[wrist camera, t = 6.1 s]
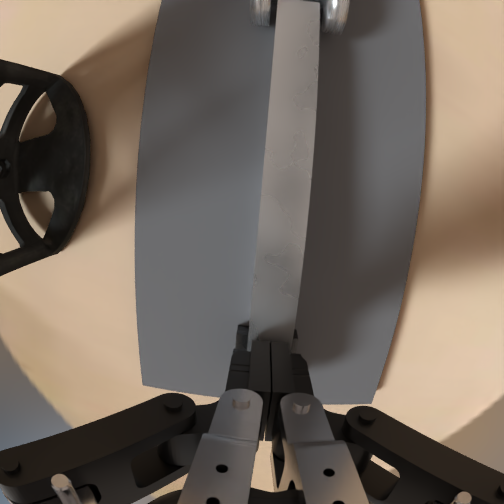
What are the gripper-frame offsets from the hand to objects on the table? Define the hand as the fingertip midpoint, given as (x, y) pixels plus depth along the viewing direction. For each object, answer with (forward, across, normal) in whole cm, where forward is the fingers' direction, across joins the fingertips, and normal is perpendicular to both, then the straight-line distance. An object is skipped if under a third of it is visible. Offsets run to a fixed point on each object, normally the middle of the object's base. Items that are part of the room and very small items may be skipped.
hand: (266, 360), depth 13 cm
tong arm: (+1, 0, -6) cm, 6 cm away
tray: (+4, 0, -10) cm, 11 cm away
